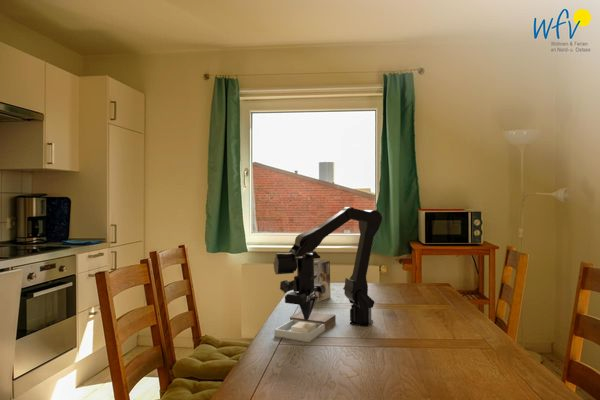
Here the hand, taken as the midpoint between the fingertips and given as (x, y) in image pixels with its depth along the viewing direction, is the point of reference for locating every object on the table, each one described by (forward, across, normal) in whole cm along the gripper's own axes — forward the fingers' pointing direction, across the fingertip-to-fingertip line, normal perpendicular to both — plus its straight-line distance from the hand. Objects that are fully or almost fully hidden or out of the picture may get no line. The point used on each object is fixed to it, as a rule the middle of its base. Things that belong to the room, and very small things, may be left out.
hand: (306, 319), depth 139 cm
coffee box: (+4, -40, -14) cm, 42 cm away
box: (+4, +4, 0) cm, 6 cm away
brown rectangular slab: (+4, -6, 0) cm, 7 cm away
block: (+3, +3, 0) cm, 4 cm away
